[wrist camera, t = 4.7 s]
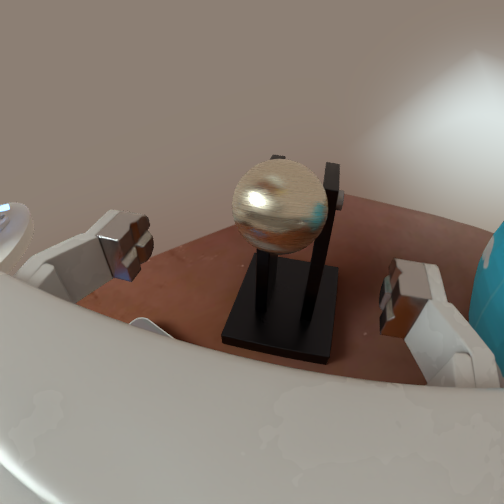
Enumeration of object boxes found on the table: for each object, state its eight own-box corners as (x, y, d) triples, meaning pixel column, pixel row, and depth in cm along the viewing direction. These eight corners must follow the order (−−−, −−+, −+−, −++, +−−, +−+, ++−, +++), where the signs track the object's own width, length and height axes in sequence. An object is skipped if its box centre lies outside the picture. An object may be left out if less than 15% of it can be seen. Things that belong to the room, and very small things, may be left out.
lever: (318, 274, 10) (336, 164, 9) (213, 255, 11) (224, 150, 10) (321, 220, 22) (328, 172, 21) (274, 212, 23) (280, 165, 22)
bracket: (326, 365, 24) (375, 227, 15) (221, 343, 25) (207, 200, 17) (336, 276, 32) (363, 153, 23) (254, 261, 34) (256, 138, 25)
